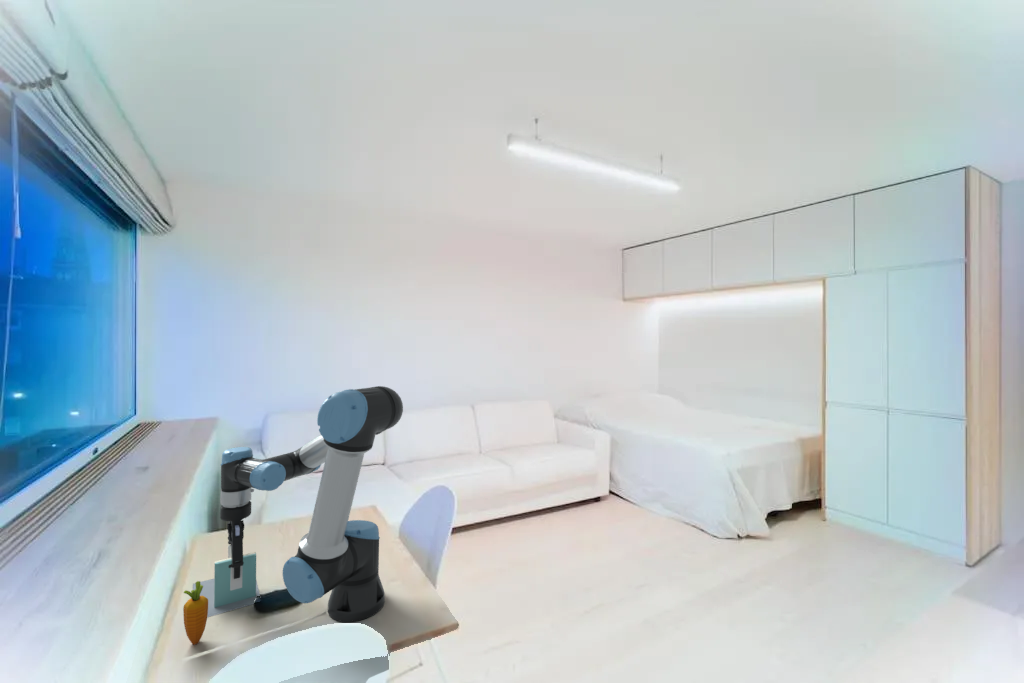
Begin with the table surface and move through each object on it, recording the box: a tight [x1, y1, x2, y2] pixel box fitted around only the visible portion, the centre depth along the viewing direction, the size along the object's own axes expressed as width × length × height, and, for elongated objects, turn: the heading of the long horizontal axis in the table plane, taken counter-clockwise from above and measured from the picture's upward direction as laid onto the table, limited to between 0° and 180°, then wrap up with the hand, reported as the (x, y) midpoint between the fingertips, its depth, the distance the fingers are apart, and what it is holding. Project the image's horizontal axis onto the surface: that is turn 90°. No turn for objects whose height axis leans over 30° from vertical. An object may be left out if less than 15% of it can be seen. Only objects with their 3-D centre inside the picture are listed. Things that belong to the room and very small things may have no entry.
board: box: [213, 551, 257, 608], centre depth 126 cm, size 2×10×12 cm, turn 125°
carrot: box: [182, 580, 208, 646], centre depth 109 cm, size 5×5×15 cm
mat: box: [192, 578, 261, 618], centre depth 130 cm, size 22×16×1 cm
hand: (234, 577), depth 127 cm, fingers open, 13 cm apart
